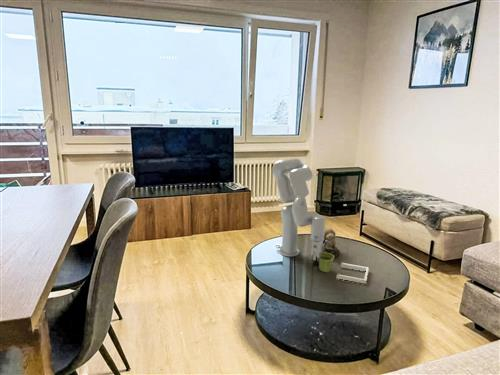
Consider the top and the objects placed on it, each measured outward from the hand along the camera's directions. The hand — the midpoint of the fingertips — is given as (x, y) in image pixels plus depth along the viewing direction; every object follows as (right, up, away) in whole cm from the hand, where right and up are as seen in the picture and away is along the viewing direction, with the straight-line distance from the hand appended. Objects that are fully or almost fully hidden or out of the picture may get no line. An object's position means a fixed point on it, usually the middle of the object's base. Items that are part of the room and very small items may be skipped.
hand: (316, 265), depth 197 cm
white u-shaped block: (+19, -3, -8) cm, 21 cm away
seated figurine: (+13, +4, +19) cm, 23 cm away
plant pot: (+5, -2, -1) cm, 5 cm away
